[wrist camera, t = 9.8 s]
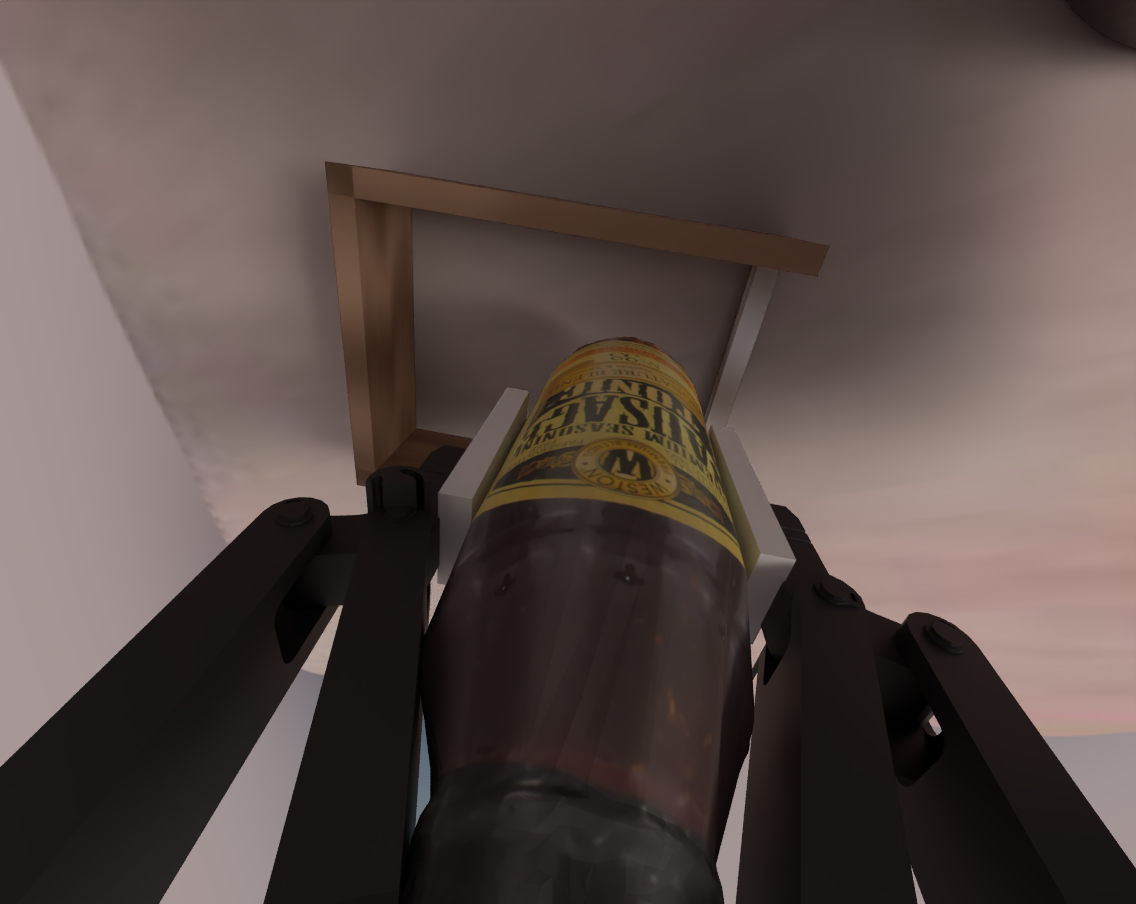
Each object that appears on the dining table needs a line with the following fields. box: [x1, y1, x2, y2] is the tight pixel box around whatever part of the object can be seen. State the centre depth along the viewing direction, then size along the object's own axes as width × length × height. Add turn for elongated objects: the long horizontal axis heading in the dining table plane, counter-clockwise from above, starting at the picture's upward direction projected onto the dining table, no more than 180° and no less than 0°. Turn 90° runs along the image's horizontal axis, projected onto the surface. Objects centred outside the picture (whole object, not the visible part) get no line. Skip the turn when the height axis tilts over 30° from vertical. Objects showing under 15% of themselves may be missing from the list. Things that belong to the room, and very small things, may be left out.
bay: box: [325, 161, 829, 487], centre depth 22 cm, size 14×18×5 cm
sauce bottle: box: [402, 337, 754, 904], centre depth 11 cm, size 6×6×20 cm
